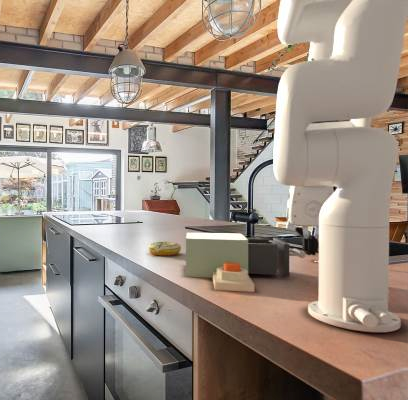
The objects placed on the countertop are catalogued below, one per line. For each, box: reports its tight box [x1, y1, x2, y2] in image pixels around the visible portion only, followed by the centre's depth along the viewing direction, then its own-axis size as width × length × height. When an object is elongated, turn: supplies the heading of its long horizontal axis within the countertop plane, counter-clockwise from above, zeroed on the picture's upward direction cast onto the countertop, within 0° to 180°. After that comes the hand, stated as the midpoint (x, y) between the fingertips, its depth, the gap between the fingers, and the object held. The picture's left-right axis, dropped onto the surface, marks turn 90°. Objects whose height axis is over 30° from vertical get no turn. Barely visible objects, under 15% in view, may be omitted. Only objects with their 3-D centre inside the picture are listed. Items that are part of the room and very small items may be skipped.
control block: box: [211, 267, 255, 293], centre depth 80 cm, size 10×8×4 cm
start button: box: [224, 262, 240, 272], centre depth 80 cm, size 4×4×2 cm
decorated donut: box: [148, 240, 182, 257], centre depth 120 cm, size 10×11×4 cm
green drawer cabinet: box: [185, 232, 248, 279], centre depth 92 cm, size 15×13×10 cm
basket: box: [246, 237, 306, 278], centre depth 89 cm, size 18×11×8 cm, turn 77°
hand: (309, 254), depth 87 cm, fingers closed
